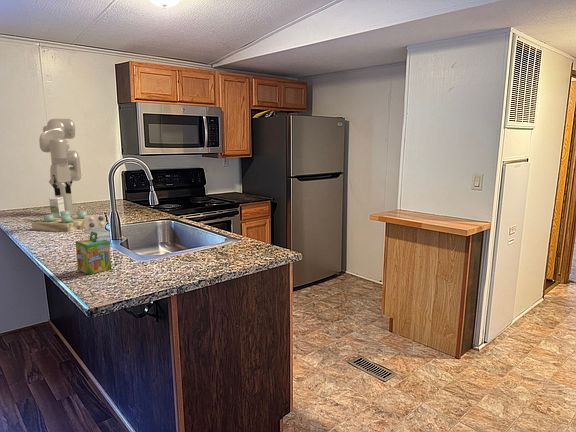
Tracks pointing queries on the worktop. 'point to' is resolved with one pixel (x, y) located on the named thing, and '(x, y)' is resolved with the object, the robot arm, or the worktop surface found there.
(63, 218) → the button
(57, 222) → the board
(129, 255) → the worktop surface
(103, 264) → the chalk box
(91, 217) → the plaque
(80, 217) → the button
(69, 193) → the robot arm
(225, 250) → the worktop surface
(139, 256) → the worktop surface
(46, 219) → the button
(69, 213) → the button
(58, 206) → the syrup box
